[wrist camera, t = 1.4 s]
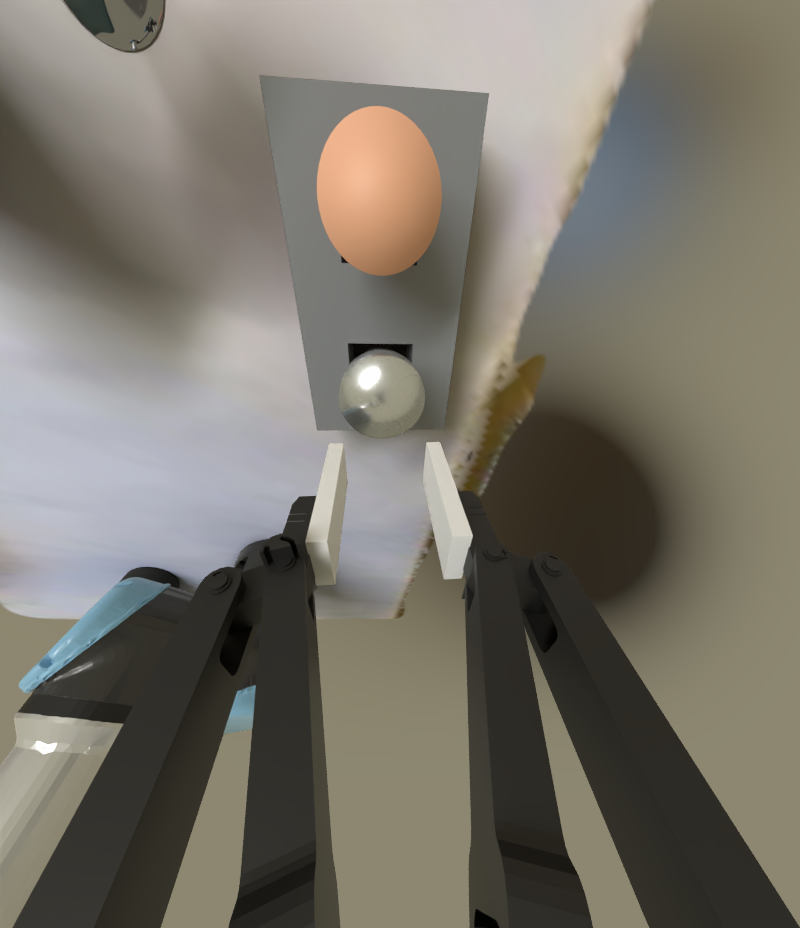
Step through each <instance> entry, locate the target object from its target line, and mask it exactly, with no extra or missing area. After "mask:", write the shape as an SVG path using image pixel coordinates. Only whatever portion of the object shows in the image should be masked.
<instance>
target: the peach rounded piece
mask: <svg viewBox="0 0 800 928" xmlns="http://www.w3.org/2000/svg"><path fill="white" fill-rule="evenodd" d="M317 200H318V206H319V212H320V215H321V219H322V222H323V225H324V228H325V230H326V233H327V235H328V237H329V239H330V241H331V242H332V244H333V245H334V247H335V248H336V250H337V251H338V252H339V254H340V255H341V256H342V257H343V258H344V259H345V260H346V261H347V262H349V263H350V264H351V265H352V266H354V267H355V268H357V269H359V270H361V271H363V272H365V273H368V274H372V275H378V276H387V275H393V274H397V273H399V272H402V271H404V270H406V269H407V268H409V267H410V266H412V265H413V264H414V263H415V262H416V261H417V260H418V259H419V258H420V257H421V256H422V255H423V254H424V252H425V251H426V250H427V248H428V246H429V245H430V243H431V241H432V239H433V237H434V234H435V231H436V229H437V226H438V222H439V217H440V211H441V202H442V189H441V179H440V172H439V168H438V164H437V161H436V158H435V155H434V153H433V150H432V148H431V146H430V144H429V142H428V140H427V139H426V137H425V136H424V134H423V133H422V131H421V130H420V129H419V128H418V127H417V125H416V124H415V123H414V122H413V121H411V120H410V119H409V118H408V117H407V116H405V115H404V114H402V113H400V112H399V111H396V110H394V109H391V108H388V107H383V106H369V107H365V108H361V109H359V110H356V111H354V112H352V113H351V114H349V115H348V116H346V117H345V118H344V119H343V120H342V121H341V122H340V123H339V124H338V125H337V126H336V127H335V129H334V130H333V131H332V133H331V134H330V136H329V138H328V140H327V142H326V144H325V146H324V149H323V152H322V154H321V158H320V162H319V167H318V174H317Z"/></svg>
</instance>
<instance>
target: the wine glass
mask: <svg viewBox="0 0 800 928" xmlns="http://www.w3.org/2000/svg"><path fill="white" fill-rule="evenodd" d="M62 1H63V3H64V4H65V5H66V7H67V8H68V9H69V11H70V12H71V13H72V14H73V15H74V17H75V18H76V19H77V20H78V21H79V22H80V23H81V24H82V25H83V26H84V27H85V28H86V29H87V30H88V31H89V32H90V33H91V34H93V35H94V36H95V37H97V38H98V39H100V40H101V41H102V42H104V43H106V44H108V45H110V46H112V47H114V48H116V49H119V50H123V51H138V50H142V49H144V48H146V47H147V46H149V45H150V44H151V43H152V42H153V40H154V39H155V38H156V37H157V34H158V32H159V30H160V27H161V24H162V19H163V14H164V0H62Z"/></svg>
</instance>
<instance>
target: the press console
mask: <svg viewBox="0 0 800 928" xmlns="http://www.w3.org/2000/svg"><path fill="white" fill-rule="evenodd" d="M259 77H260V83H261V89H262V95H263V101H264V108H265V114H266V120H267V126H268V132H269V138H270V144H271V150H272V157H273V163H274V169H275V175H276V181H277V187H278V193H279V199H280V206H281V212H282V218H283V224H284V230H285V236H286V242H287V248H288V254H289V261H290V267H291V273H292V279H293V285H294V291H295V297H296V303H297V310H298V316H299V322H300V328H301V334H302V340H303V346H304V352H305V359H306V365H307V371H308V377H309V383H310V389H311V395H312V401H313V408H314V414H315V420H316V426H317V430H356V429H354V428H353V427H352V426H351V425H350V424H349V423H348V422H347V421H346V419H345V418H344V416H343V414H342V412H341V409H340V406H339V389H340V385H341V381H342V377H343V375H344V372H345V370H346V368H347V367H348V366H349V364H350V363H351V362H352V361H353V360H354V353H353V343H357V344H407V345H406V358H407V359H408V360H409V361H410V362H411V363H412V364H413V365H414V366H415V368H416V370H417V371H418V373H419V376H420V378H421V381H422V384H423V387H424V391H425V404H424V408H423V411H422V414H421V416H420V417H419V419H418V421H417V422H416V423H415V424H414V425H413V426H412V427H411V428H410V429H444V425H445V418H446V410H447V403H448V395H449V388H450V380H451V373H452V366H453V358H454V351H455V343H456V336H457V328H458V321H459V313H460V306H461V298H462V291H463V283H464V276H465V268H466V261H467V253H468V246H469V239H470V231H471V224H472V216H473V209H474V201H475V194H476V186H477V179H478V171H479V164H480V156H481V149H482V141H483V134H484V126H485V119H486V111H487V104H488V97H489V93H479V92H466V91H453V90H440V89H427V88H415V87H402V86H389V85H376V84H363V83H351V82H338V81H325V80H312V79H300V78H287V77H274V76H261V75H259ZM369 106H383V107H388V108H391V109H394V110H396V111H399V112H400V113H402V114H404V115H405V116H407V117H408V118H409V119H410V120H411V121H413V122H414V123H415V124H416V125H417V127H418V128H419V129H420V130H421V131H422V133H423V134H424V136H425V137H426V139H427V140H428V142H429V144H430V146H431V148H432V150H433V153H434V155H435V158H436V161H437V164H438V168H439V172H440V179H441V189H442V202H441V211H440V217H439V222H438V226H437V229H436V231H435V234H434V237H433V239H432V241H431V243H430V245H429V246H428V248H427V250H426V251H425V252H424V254H423V255H422V256H421V257H420V258H419V259H418V260H417V261H416V262H415V263H414V264H413V265H412V266H410V267H409V268H407V269H406V270H404V271H402V272H399V273H397V274H393V275H387V276H378V275H372V274H368V273H365V272H363V271H361V270H359V269H357V268H355V267H354V266H352V265H351V264H350V263H349V262H347V261H346V260H345V259H344V258H343V257H342V256H341V255H340V254H339V252H338V251H337V250H336V248H335V247H334V245H333V244H332V242H331V241H330V239H329V237H328V235H327V233H326V230H325V228H324V225H323V222H322V219H321V215H320V212H319V206H318V200H317V174H318V167H319V162H320V158H321V154H322V152H323V149H324V146H325V144H326V142H327V140H328V138H329V136H330V134H331V133H332V131H333V130H334V129H335V127H336V126H337V125H338V124H339V123H340V122H341V121H342V120H343V119H344V118H345V117H346V116H348V115H349V114H351V113H352V112H354V111H356V110H359V109H361V108H365V107H369Z"/></svg>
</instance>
